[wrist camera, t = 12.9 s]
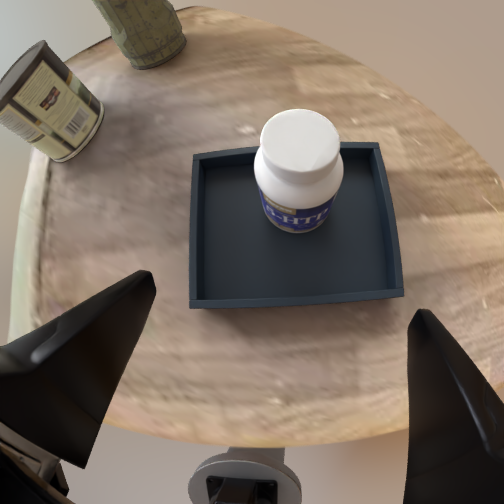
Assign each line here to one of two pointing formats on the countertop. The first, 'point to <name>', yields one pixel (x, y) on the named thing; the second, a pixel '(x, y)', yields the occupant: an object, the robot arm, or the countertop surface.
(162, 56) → the stone statue
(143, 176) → the countertop surface
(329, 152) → the pill bottle
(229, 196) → the tray
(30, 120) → the coffee can
